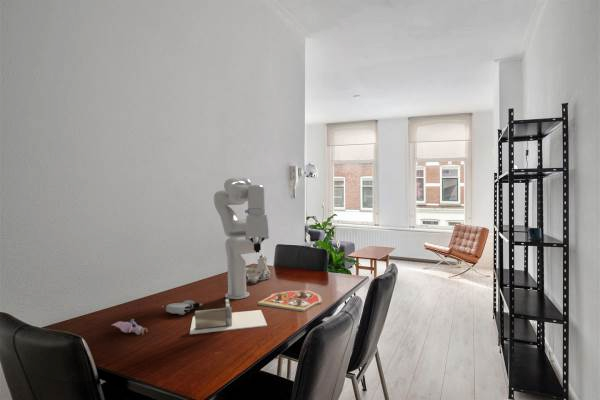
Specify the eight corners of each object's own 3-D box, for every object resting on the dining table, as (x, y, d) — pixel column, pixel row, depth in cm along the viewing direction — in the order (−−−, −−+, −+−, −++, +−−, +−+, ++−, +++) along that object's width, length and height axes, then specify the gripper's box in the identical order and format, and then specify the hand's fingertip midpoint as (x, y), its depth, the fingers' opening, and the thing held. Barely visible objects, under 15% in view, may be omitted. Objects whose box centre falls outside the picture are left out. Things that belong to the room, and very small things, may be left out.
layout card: (192, 317, 155) (192, 316, 155) (261, 310, 162) (260, 309, 162) (189, 334, 136) (189, 333, 136) (267, 326, 143) (267, 324, 143)
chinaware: (242, 278, 236) (239, 253, 236) (266, 273, 242) (263, 249, 241) (249, 288, 210) (246, 260, 209) (276, 282, 215) (273, 255, 214)
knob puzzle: (254, 305, 172) (254, 296, 172) (285, 290, 198) (284, 282, 198) (308, 313, 158) (308, 303, 158) (333, 296, 185) (333, 287, 184)
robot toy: (183, 307, 173) (160, 315, 159) (183, 298, 173) (161, 305, 159) (204, 310, 168) (182, 318, 154) (204, 300, 168) (182, 307, 154)
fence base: (195, 328, 141) (195, 310, 141) (231, 325, 144) (231, 306, 144) (195, 331, 139) (195, 311, 139) (232, 327, 142) (231, 308, 142)
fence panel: (230, 323, 145) (230, 307, 145) (227, 323, 144) (226, 307, 144) (228, 313, 156) (228, 299, 156) (225, 314, 156) (225, 299, 156)
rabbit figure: (149, 334, 141) (118, 325, 144) (151, 319, 140) (119, 311, 144) (139, 340, 135) (106, 331, 138) (141, 325, 134) (108, 316, 138)
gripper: (240, 213, 156) (241, 254, 156) (273, 211, 159) (274, 252, 160) (239, 212, 163) (240, 251, 163) (271, 211, 167) (272, 250, 167)
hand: (257, 252), depth 162 cm, fingers closed
